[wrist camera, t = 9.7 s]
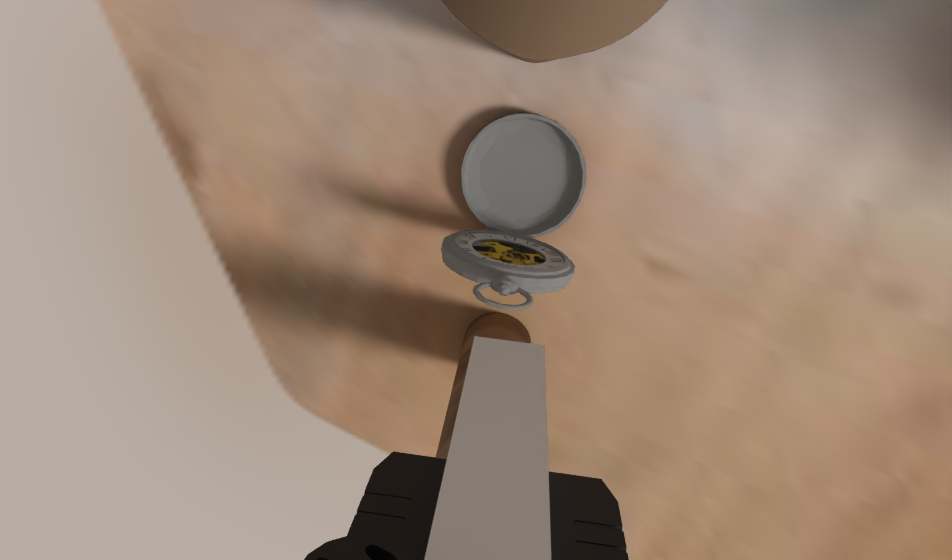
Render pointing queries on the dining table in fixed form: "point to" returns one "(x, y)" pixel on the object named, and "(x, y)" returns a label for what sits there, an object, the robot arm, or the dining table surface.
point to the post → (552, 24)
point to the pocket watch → (517, 207)
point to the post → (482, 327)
